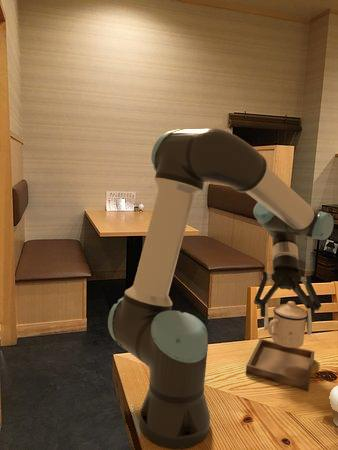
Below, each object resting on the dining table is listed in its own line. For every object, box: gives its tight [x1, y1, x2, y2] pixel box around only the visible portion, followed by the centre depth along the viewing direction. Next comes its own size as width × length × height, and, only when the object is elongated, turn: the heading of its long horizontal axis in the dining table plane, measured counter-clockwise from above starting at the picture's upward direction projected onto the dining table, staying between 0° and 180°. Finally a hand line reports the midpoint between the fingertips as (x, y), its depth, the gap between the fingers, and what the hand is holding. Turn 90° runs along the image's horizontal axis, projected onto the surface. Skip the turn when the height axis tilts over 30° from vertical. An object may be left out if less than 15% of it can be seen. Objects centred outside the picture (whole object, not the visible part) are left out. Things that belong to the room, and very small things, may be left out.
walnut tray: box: [245, 338, 316, 392], centre depth 107 cm, size 16×18×2 cm
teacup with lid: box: [267, 300, 308, 348], centre depth 105 cm, size 12×9×12 cm
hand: (287, 330), depth 102 cm, fingers closed on teacup with lid, 11 cm apart
